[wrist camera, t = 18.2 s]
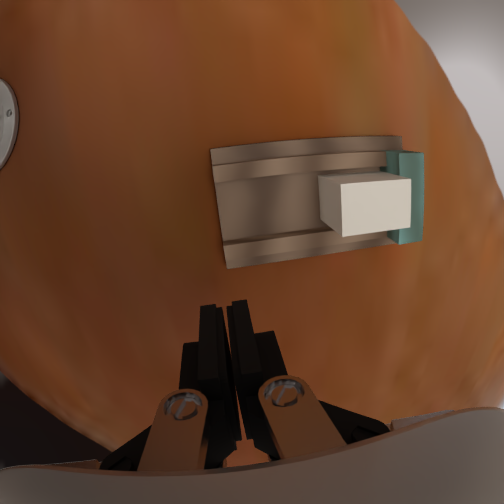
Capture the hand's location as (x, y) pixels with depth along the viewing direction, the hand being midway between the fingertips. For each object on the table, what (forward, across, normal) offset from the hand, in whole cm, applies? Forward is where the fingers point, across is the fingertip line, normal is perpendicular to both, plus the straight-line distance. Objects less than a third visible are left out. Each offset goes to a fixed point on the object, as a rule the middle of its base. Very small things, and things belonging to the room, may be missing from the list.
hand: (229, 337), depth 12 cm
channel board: (+22, -10, 0) cm, 24 cm away
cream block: (+21, -14, 0) cm, 25 cm away
